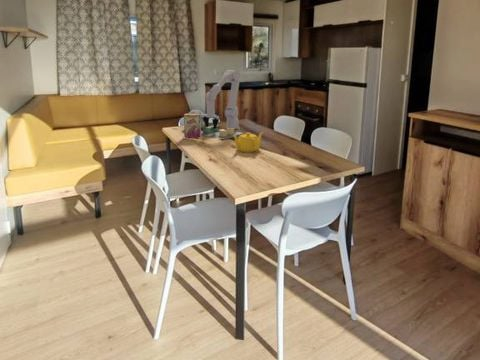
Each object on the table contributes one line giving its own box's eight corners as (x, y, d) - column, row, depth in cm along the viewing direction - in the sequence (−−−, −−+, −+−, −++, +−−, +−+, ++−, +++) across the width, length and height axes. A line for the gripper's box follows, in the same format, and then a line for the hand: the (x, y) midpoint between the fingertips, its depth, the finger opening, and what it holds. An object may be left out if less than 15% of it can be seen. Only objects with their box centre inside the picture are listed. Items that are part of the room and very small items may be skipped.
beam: (215, 130, 292) (215, 124, 291) (219, 130, 290) (219, 125, 289) (202, 133, 282) (202, 127, 281) (206, 134, 280) (206, 128, 278)
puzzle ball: (187, 131, 292) (186, 111, 287) (185, 127, 306) (184, 108, 301) (207, 130, 295) (206, 110, 290) (204, 126, 309) (204, 107, 304)
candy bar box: (184, 138, 272) (183, 114, 266) (186, 136, 276) (184, 113, 271) (200, 138, 271) (199, 115, 265) (201, 136, 275) (200, 113, 270)
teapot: (239, 155, 229) (239, 137, 226) (227, 149, 242) (227, 132, 239) (270, 151, 239) (271, 133, 235) (258, 145, 252) (258, 129, 248)
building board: (216, 129, 298) (216, 123, 297) (243, 134, 283) (243, 127, 282) (194, 135, 280) (194, 128, 279) (222, 140, 265) (222, 133, 264)
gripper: (199, 108, 282) (199, 127, 286) (214, 110, 273) (214, 130, 278) (206, 107, 287) (206, 126, 292) (221, 109, 279) (221, 128, 283)
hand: (211, 127), depth 285 cm, fingers open, 7 cm apart
